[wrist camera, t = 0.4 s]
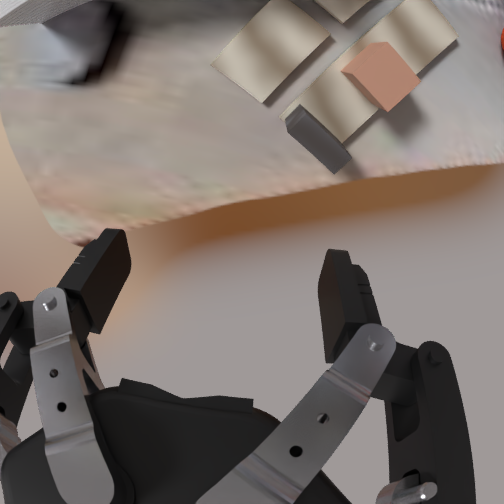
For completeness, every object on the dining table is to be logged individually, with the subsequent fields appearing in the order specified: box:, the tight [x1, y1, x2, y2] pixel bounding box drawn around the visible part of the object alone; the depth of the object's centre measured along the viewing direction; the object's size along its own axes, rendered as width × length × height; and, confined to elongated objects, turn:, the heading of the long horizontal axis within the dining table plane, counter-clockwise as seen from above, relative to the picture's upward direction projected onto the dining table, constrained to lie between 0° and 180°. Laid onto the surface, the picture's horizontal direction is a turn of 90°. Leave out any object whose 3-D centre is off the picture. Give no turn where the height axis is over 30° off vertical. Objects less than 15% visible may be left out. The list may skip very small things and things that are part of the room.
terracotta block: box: [341, 42, 421, 112], centre depth 23 cm, size 5×5×5 cm
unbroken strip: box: [279, 0, 459, 174], centre depth 23 cm, size 24×7×7 cm, turn 140°
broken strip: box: [211, 0, 370, 103], centre depth 22 cm, size 24×7×1 cm, turn 140°
